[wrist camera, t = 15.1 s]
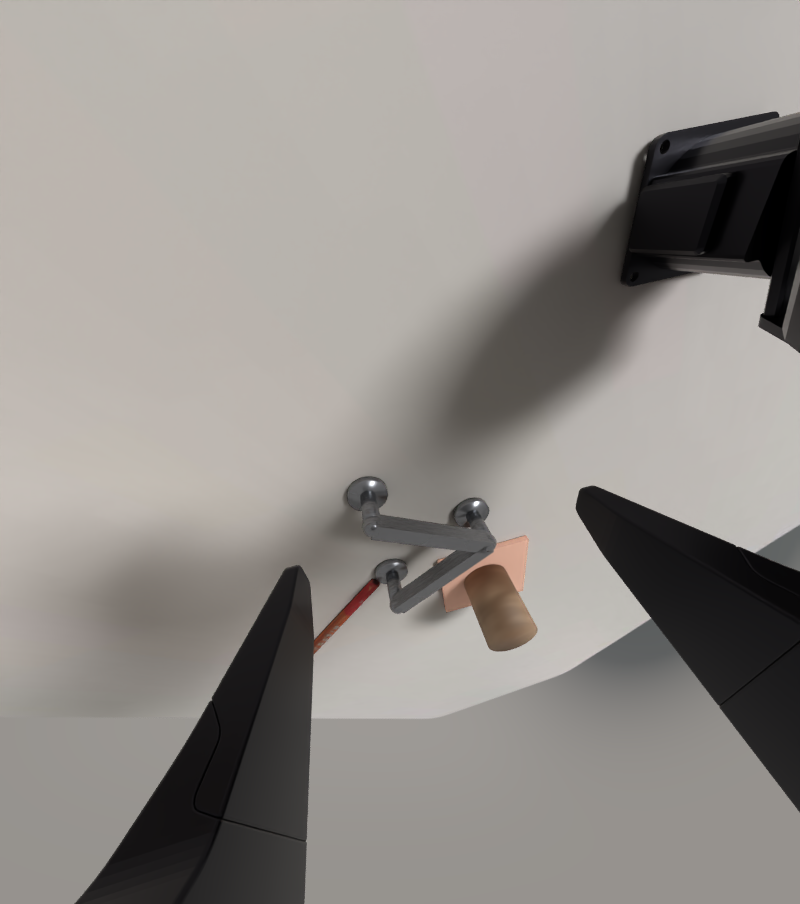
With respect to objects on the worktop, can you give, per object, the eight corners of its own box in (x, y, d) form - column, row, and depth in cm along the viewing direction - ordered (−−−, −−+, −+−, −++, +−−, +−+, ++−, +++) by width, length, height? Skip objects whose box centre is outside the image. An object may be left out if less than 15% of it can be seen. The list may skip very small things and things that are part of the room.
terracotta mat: (525, 535, 31) (528, 539, 31) (520, 586, 36) (523, 590, 36) (437, 559, 30) (438, 564, 30) (445, 608, 36) (446, 612, 35)
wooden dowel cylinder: (506, 559, 32) (539, 617, 27) (505, 584, 34) (535, 642, 30) (462, 571, 31) (487, 633, 27) (464, 596, 34) (488, 656, 29)
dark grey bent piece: (486, 445, 24) (513, 480, 20) (487, 552, 31) (506, 591, 28) (342, 482, 23) (345, 525, 20) (378, 582, 31) (385, 626, 27)
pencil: (371, 575, 30) (372, 584, 30) (380, 577, 31) (381, 586, 30) (282, 671, 37) (281, 680, 36) (290, 672, 38) (290, 681, 37)
